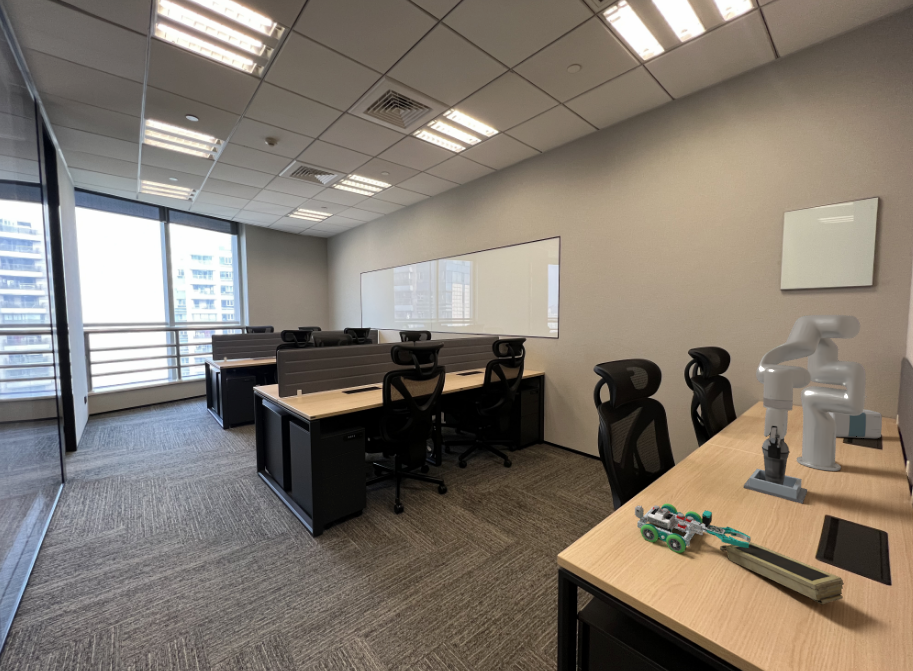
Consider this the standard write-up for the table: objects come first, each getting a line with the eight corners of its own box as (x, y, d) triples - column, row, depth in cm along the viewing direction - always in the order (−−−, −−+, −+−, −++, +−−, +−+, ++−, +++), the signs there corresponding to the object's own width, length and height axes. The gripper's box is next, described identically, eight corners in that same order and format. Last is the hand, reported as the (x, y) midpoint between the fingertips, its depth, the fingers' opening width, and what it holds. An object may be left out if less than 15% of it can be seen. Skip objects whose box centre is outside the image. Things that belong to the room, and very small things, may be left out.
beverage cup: (782, 479, 129) (783, 423, 128) (793, 488, 122) (795, 429, 121) (757, 476, 131) (758, 421, 130) (766, 485, 124) (768, 427, 123)
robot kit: (743, 581, 82) (744, 541, 82) (628, 535, 101) (629, 501, 100) (756, 546, 95) (757, 511, 95) (652, 510, 113) (653, 481, 113)
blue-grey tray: (751, 478, 136) (751, 467, 136) (807, 492, 124) (807, 480, 124) (743, 487, 128) (744, 476, 128) (802, 503, 117) (803, 491, 116)
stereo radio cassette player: (832, 438, 181) (834, 397, 180) (819, 433, 189) (820, 394, 189) (882, 440, 178) (884, 399, 177) (866, 434, 186) (868, 395, 185)
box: (821, 613, 71) (817, 585, 72) (712, 561, 93) (710, 540, 93) (849, 604, 74) (845, 577, 74) (737, 555, 95) (734, 535, 96)
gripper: (768, 398, 134) (767, 446, 134) (758, 406, 122) (756, 458, 123) (796, 401, 128) (794, 451, 129) (788, 410, 116) (786, 465, 117)
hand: (776, 454), depth 126 cm, fingers closed on beverage cup, 7 cm apart
